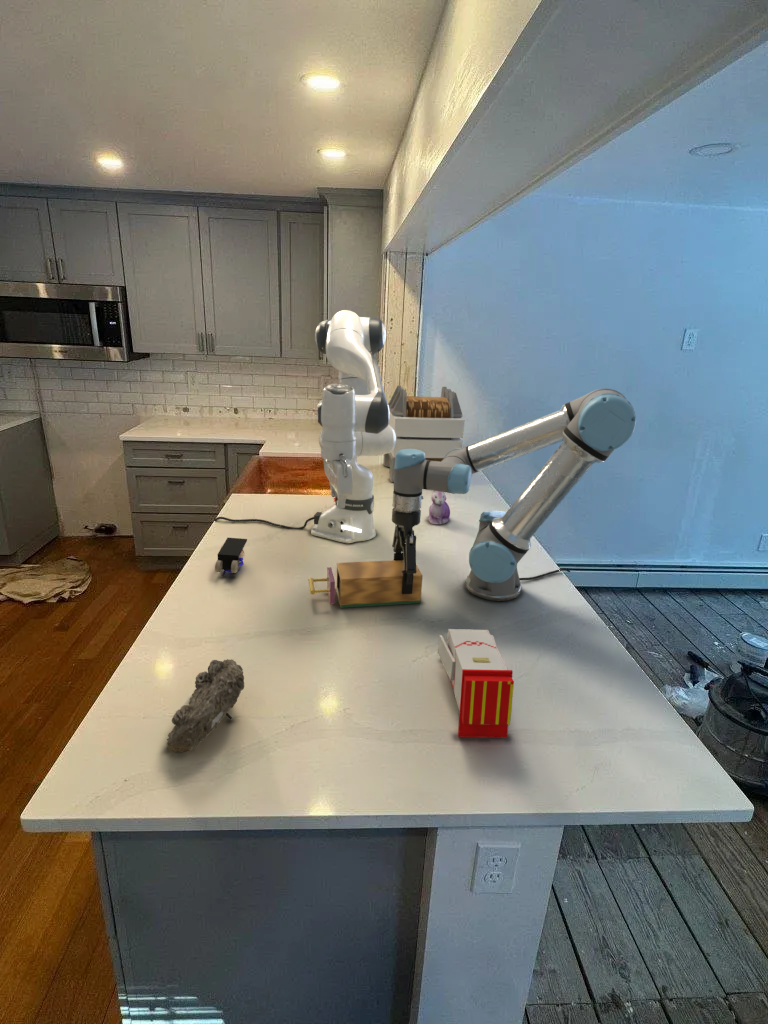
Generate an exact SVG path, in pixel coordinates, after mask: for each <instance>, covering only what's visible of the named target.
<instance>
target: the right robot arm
mask: <svg viewBox="0 0 768 1024" xmlns="http://www.w3.org/2000/svg"><path fill="white" fill-rule="evenodd" d="M636 415H637V414H636V411H635V408H634V406H633V405H632V403H631V402H630V401H629V400H628V399H627V398H626V397H625V395H624V394H623V393H621V392H620V391H618V390H616V389H612V388H598V389H595V390H592V391H590V392H588V393H586V394H584V395H582V396H579V397H578V398H575V399H574V400H571V401H569V402H567V403H564V404H563V405H562V407H561V409H560V410H556V411H555V412H551V413H549V414H546V415H544V416H542V417H539V418H537V419H534V420H531V421H528V422H526V423H523V424H521V425H519V426H516V427H513V428H511V429H507V430H506V431H503V432H499V433H497V434H495V435H493V436H490V437H487V438H485V439H482V440H480V441H477V442H474V443H472V444H470V445H469V444H468V445H467V446H464V447H462V448H461V449H454V450H452V451H450V452H448V453H447V454H446V455H445V457H444V459H443V460H442V461H441V462H439V461H430V460H425V454H424V452H423V451H421V450H417V449H402V450H400V451H398V452H397V453H396V459H395V467H394V482H393V491H392V505H391V506H392V511H391V521H392V523H393V524H394V525H395V526H394V532H393V539H392V544H391V547H392V548H393V552H394V553H393V560H404V571H402V573H403V579H402V594H412V589H413V574H415V573H416V565H417V535H415V530H414V529H413V528H414V527H416V526H418V525H419V524H420V523H421V516H422V515H421V514H422V510H421V508H422V500H424V499H425V498H424V496H423V490H426V491H432V492H434V491H440V492H444V493H448V494H452V495H457V494H458V495H466V494H468V492H469V491H470V487H471V481H472V475H474V474H476V473H478V472H481V471H484V470H486V469H490V468H493V467H495V466H498V465H501V464H503V463H506V462H509V461H511V460H514V459H517V458H520V457H523V456H525V455H529V454H531V453H533V452H536V451H539V450H541V449H542V450H543V449H545V448H548V447H551V446H553V445H556V444H559V443H560V445H559V446H558V447H557V448H556V449H555V451H554V452H553V453H552V455H551V456H550V457H549V459H548V460H547V461H546V462H545V463H544V464H543V466H542V467H541V468H540V470H539V471H538V472H537V473H536V475H535V476H534V477H533V479H532V480H531V481H530V482H529V483H528V485H527V486H526V487H525V489H524V490H523V491H522V492H521V494H519V496H518V497H517V499H516V500H515V501H514V502H513V504H512V505H511V506H510V507H509V508H508V509H507V510H506V511H503V510H502V511H501V510H485V511H483V512H482V513H480V516H479V519H478V523H479V525H478V532H477V534H476V537H475V539H474V542H473V544H472V547H471V548H470V550H469V553H468V563H469V564H468V565H469V567H470V572H469V574H468V575H467V576H466V578H465V581H466V584H465V585H466V589H467V590H468V591H469V592H470V593H471V594H472V595H474V596H476V597H477V598H481V599H484V600H487V601H493V602H505V601H506V602H507V601H511V600H514V599H516V598H517V597H519V596H520V594H521V590H522V589H521V588H522V585H521V581H531V580H537V579H540V578H543V577H546V576H549V575H552V574H557V573H559V572H563V571H565V572H567V573H571V570H570V569H569V568H567V567H562V568H559V570H560V571H559V570H558V569H556V570H552V571H549V572H546V573H542V574H539V575H535V576H530V577H520V576H519V570H518V563H519V562H520V561H521V560H522V559H523V557H524V556H525V555H526V554H527V553H528V552H529V551H530V550H531V547H532V543H531V538H532V537H533V536H534V535H535V533H537V531H538V530H539V529H540V528H541V526H543V524H544V523H545V522H546V521H547V519H548V518H549V517H550V516H551V515H552V514H553V513H554V511H555V510H556V509H557V507H559V505H560V504H561V503H562V502H563V501H564V499H565V498H566V497H567V496H568V495H569V493H570V492H571V491H572V490H573V489H574V488H575V487H576V485H578V483H579V482H580V481H581V480H582V478H583V477H584V476H585V475H586V473H588V471H589V470H590V469H591V467H593V465H596V464H599V463H605V462H606V460H607V459H608V458H609V457H610V456H611V455H612V454H613V453H614V451H615V450H617V449H619V448H621V447H622V446H624V445H625V444H626V443H627V442H628V441H629V440H630V439H631V438H632V436H633V434H634V431H635V429H636V423H637V416H636Z"/></svg>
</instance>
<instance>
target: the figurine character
mask: <svg viewBox="0 0 768 1024" xmlns="http://www.w3.org/2000/svg"><path fill="white" fill-rule="evenodd" d="M247 542H248V538H240V537H226V539H225V541H224V543H223V544H222V546H221V547H220V549H219V551H218V552H217V560H216V562H215V564H214V572H215V573H221V577H222V578H224V577H225V576H226V574H227V573H230V574H231V573H232V574H231V578H234V577H235V575H236V573H237V572H239V571H240V567H242V566H243V565H244V564H245V562H244V558H245V551H244V547H245V546H246V544H247Z"/></svg>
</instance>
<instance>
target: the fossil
mask: <svg viewBox="0 0 768 1024" xmlns="http://www.w3.org/2000/svg"><path fill="white" fill-rule="evenodd" d="M243 670H244V669H243V667H242V665H240V664H237V662H236V661H235V660H234V659H232V658H231V659H227V658H226V659H224V660H223V661H222V660H217V659H212V660H211V661H210V663H209V665H208V666H207V671H201V672H199V673H198V674H197V675H196V676H195V680H194V684H195V685H194V687H195V689H194V690H193V693H192V694H191V697H190V698H189V700H188V704H184V705H182V706H181V707H180V709H177V710H176V711H175V713H174V715H173V716H172V718H171V723H172V724H173V727H172V730H171V731H170V732H168V734H167V738H166V741H167V742H166V745H167V749H168V750H169V751H173V752H174V753H176V754H178V753H182V752H188V751H189V752H192V751H193V750H195V748H196V747H197V746H199V744H200V743H201V742H203V741H204V740H205V739H206V738H207V737H208V736H209V735H210V734H211V733H212V732H214V730H215V729H217V727H218V726H219V724H220V722H221V721H222V720H223V719H224V718H225V716H226V717H227V719H229V720H233V717H232V715H230V714H229V710H230V709H231V708H234V706H235V704H236V703H237V702H238V699H239V697H240V695H241V693H242V691H243V690H245V689H244V688H245V675H244V671H243Z"/></svg>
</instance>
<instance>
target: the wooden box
mask: <svg viewBox="0 0 768 1024" xmlns="http://www.w3.org/2000/svg"><path fill="white" fill-rule="evenodd" d="M337 569H338V573H339V576H340V580H341V588H340V599H339V595H338V591H337V577H336V578H335V579H336V581H335V592H336V595H337V600H338V603H339V607H340V608H341V609H343V608H359V607H360V608H361V607H375V606H391V605H395V606H396V605H410V604H421V603H422V588H423V587H422V586H423V573H422V571H421V570H420V568H419V566H418V565H417V564H416V573H415V574H413V589H412V594H402V579H403V573H402V571H404V560H394V559H393V560H375V561H370V560H369V561H350V562H349V561H348V562H336V570H337Z"/></svg>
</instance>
